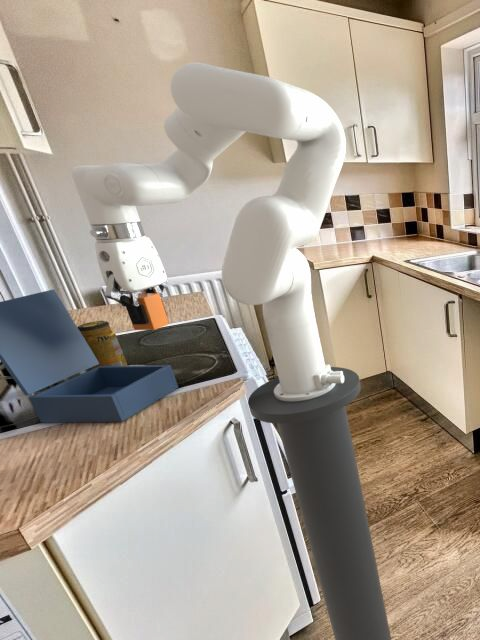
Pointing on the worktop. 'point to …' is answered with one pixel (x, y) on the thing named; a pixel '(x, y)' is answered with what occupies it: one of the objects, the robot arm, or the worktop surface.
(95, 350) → the condiment
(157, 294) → the orange rectangular block
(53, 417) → the lunchbox
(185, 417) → the worktop surface
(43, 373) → the lid
